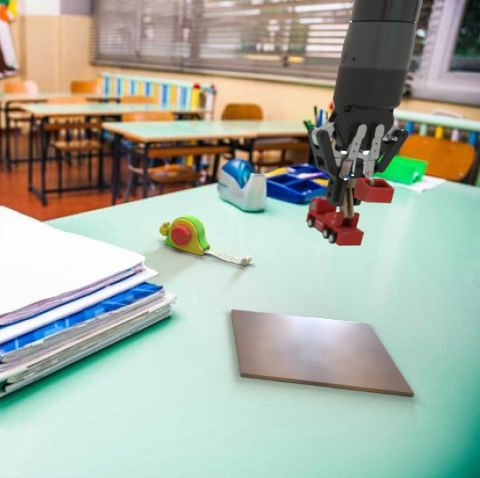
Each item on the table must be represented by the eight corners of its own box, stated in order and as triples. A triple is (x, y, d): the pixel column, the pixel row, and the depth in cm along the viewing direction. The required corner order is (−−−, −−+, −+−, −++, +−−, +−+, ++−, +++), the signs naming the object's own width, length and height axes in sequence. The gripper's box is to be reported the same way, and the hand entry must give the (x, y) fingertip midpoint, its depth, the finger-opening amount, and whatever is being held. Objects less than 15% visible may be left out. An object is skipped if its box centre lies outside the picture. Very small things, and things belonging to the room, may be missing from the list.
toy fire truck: (323, 223, 73) (337, 158, 69) (377, 260, 60) (397, 184, 57) (302, 222, 73) (315, 157, 69) (351, 260, 60) (370, 183, 56)
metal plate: (368, 326, 73) (369, 323, 72) (413, 396, 58) (414, 393, 58) (231, 311, 75) (231, 309, 75) (240, 376, 60) (241, 373, 60)
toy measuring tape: (167, 235, 104) (169, 206, 102) (255, 260, 94) (260, 227, 92) (151, 244, 99) (153, 213, 97) (242, 271, 89) (247, 237, 87)
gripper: (344, 64, 53) (314, 216, 59) (447, 68, 57) (408, 211, 63) (303, 61, 60) (281, 198, 66) (397, 65, 63) (367, 194, 70)
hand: (343, 203), depth 65 cm, fingers closed on toy fire truck, 2 cm apart
